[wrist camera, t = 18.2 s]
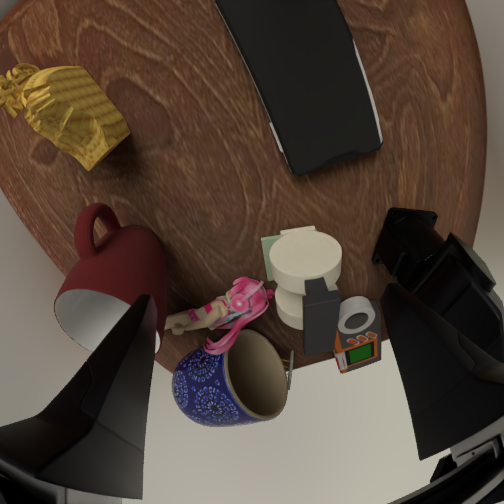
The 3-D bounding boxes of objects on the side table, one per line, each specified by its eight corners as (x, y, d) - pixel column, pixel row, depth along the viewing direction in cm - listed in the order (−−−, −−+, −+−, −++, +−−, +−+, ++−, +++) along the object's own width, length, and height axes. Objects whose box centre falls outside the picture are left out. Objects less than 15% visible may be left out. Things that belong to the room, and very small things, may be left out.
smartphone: (322, -31, 10) (386, 148, 18) (317, -26, 11) (379, 143, 19) (209, -4, 11) (291, 179, 20) (210, 0, 12) (288, 174, 21)
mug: (72, 199, 20) (12, 272, 12) (144, 164, 19) (89, 236, 11) (126, 283, 26) (100, 364, 18) (194, 264, 25) (183, 356, 17)
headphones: (328, 222, 23) (364, 294, 16) (326, 276, 27) (352, 346, 20) (264, 232, 23) (279, 310, 16) (272, 285, 27) (285, 360, 20)
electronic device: (381, 301, 27) (381, 362, 35) (372, 283, 30) (376, 348, 38) (324, 321, 28) (340, 377, 36) (319, 302, 31) (336, 362, 39)
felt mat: (316, 228, 24) (317, 231, 24) (316, 270, 27) (317, 272, 27) (260, 237, 24) (261, 240, 24) (267, 278, 27) (268, 281, 27)
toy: (166, 310, 33) (266, 259, 28) (188, 349, 33) (292, 308, 28) (128, 331, 26) (239, 275, 21) (155, 377, 26) (274, 339, 21)
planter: (175, 339, 35) (234, 309, 30) (229, 377, 39) (290, 356, 34) (149, 407, 26) (213, 396, 21) (216, 440, 30) (286, 432, 25)
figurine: (103, 159, 18) (58, 200, 13) (29, 67, 12) (-29, 80, 6) (134, 129, 17) (92, 159, 12) (56, 33, 11) (-2, 34, 5)
